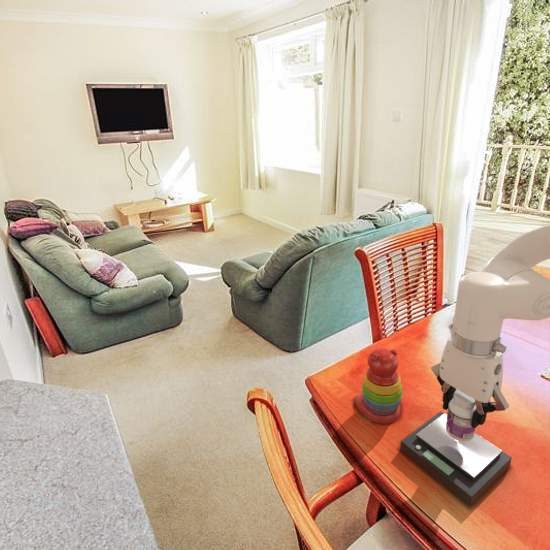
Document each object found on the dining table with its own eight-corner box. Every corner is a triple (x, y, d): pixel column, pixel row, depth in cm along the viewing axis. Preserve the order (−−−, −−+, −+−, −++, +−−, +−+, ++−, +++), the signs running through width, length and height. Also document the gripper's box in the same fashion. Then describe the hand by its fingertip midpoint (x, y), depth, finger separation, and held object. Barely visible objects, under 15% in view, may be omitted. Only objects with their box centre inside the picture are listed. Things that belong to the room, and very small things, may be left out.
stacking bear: (391, 391, 99) (394, 335, 92) (410, 420, 90) (416, 359, 82) (352, 399, 97) (352, 342, 90) (368, 429, 88) (369, 368, 81)
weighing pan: (502, 453, 76) (502, 450, 75) (473, 480, 71) (474, 477, 71) (444, 415, 86) (444, 412, 85) (415, 437, 81) (416, 434, 81)
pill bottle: (446, 419, 80) (450, 383, 76) (474, 426, 78) (480, 390, 74) (444, 438, 76) (449, 401, 72) (473, 446, 74) (480, 408, 70)
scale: (509, 467, 76) (512, 456, 75) (469, 507, 70) (472, 495, 68) (439, 420, 89) (440, 410, 87) (400, 450, 82) (400, 439, 81)
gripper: (536, 353, 63) (517, 432, 70) (444, 314, 76) (436, 384, 83) (513, 371, 59) (495, 453, 66) (420, 327, 73) (414, 399, 80)
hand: (462, 414), depth 75 cm, fingers closed on pill bottle, 5 cm apart
